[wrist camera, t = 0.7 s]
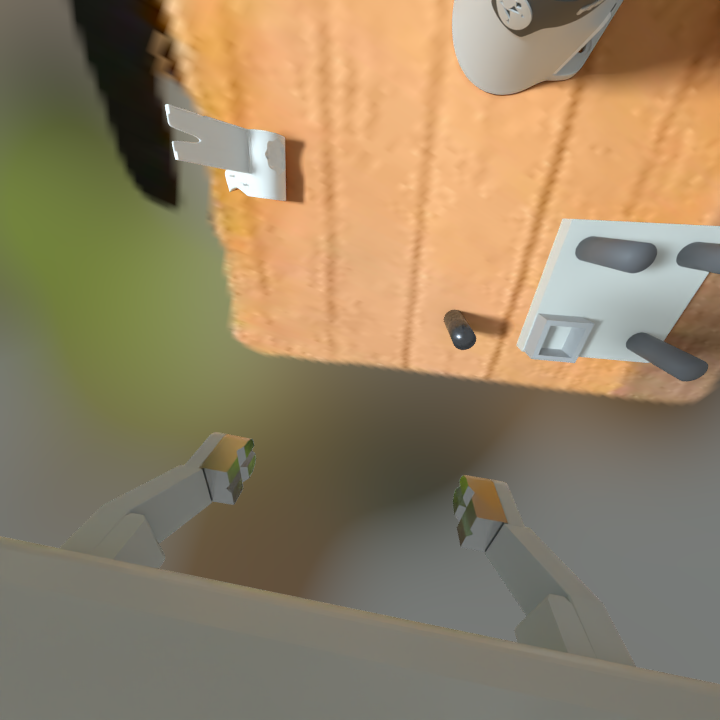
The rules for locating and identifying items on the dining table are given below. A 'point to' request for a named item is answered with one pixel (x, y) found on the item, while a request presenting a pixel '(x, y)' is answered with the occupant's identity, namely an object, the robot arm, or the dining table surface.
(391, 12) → the dining table surface
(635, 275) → the stool seat
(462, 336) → the stool leg
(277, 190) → the plastic part
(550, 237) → the dining table surface
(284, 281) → the dining table surface
